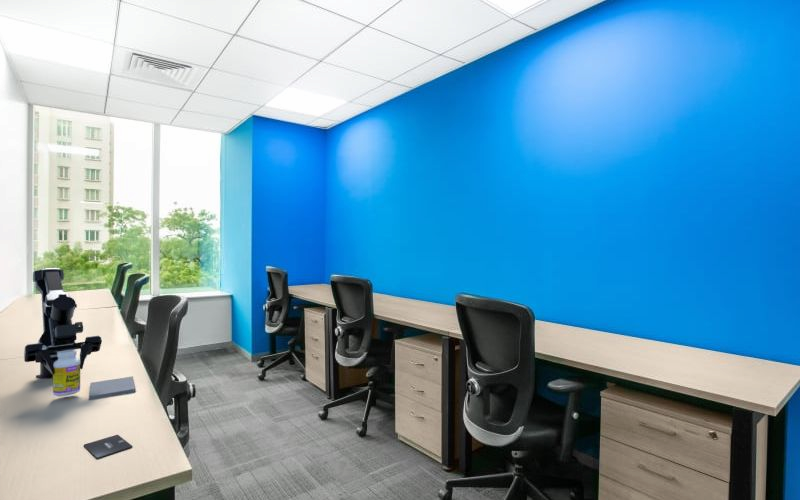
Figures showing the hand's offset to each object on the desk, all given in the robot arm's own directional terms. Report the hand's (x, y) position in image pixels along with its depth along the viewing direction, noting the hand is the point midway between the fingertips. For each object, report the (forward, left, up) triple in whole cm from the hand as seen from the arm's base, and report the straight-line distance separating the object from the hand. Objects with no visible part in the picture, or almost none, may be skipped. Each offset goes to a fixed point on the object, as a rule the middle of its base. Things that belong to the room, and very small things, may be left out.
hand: (67, 371), depth 128 cm
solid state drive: (+41, -21, -9) cm, 47 cm away
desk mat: (+5, +11, -8) cm, 14 cm away
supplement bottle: (-1, +1, -7) cm, 7 cm away
